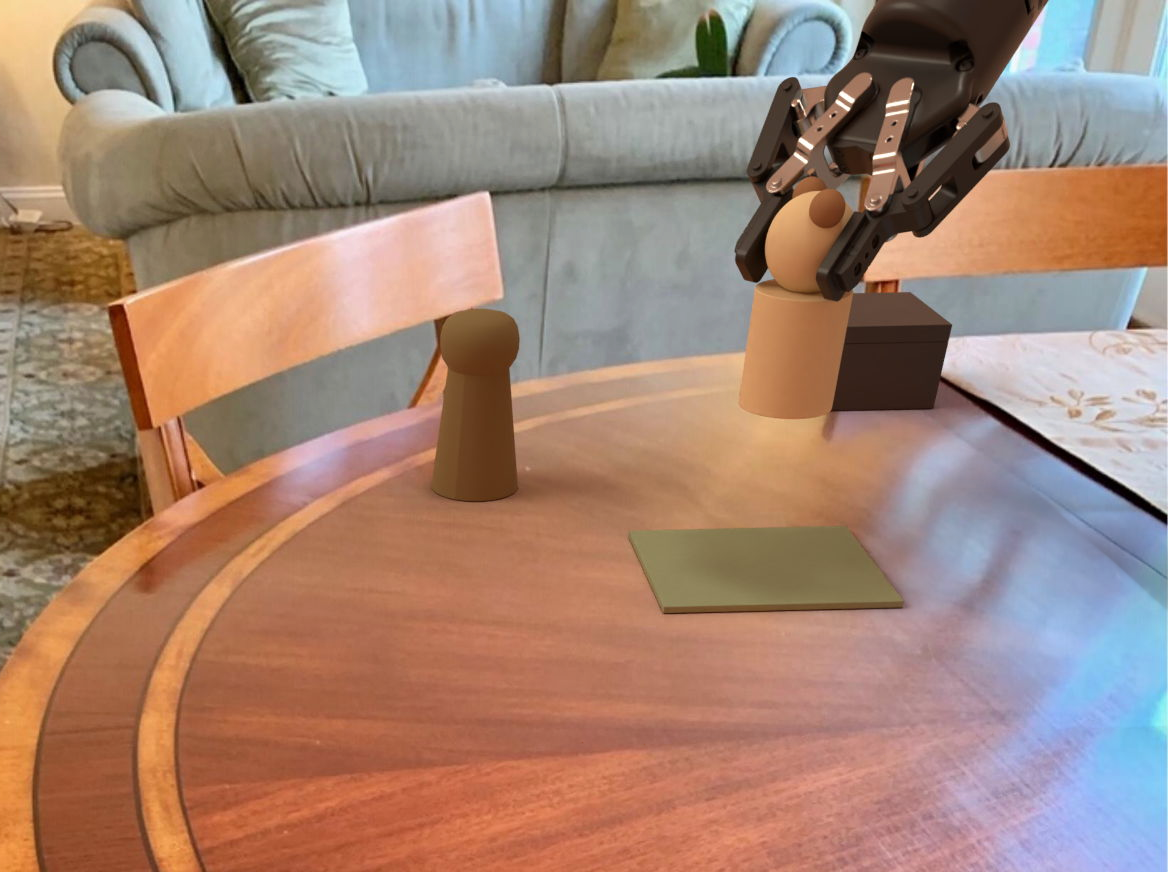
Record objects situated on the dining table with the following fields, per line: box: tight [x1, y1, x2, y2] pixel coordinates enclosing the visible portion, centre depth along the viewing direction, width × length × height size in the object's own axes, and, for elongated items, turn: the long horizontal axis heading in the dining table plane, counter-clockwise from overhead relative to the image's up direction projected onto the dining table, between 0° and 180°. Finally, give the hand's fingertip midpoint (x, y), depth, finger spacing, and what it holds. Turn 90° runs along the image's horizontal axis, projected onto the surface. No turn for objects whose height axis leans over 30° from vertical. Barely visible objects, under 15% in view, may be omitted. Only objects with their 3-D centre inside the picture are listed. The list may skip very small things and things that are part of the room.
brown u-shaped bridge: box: [830, 291, 953, 412], centre depth 116 cm, size 12×10×6 cm
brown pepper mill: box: [430, 308, 521, 502], centre depth 98 cm, size 6×6×11 cm
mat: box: [628, 525, 905, 614], centre depth 90 cm, size 14×12×1 cm
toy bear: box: [738, 176, 854, 420], centre depth 80 cm, size 5×5×11 cm
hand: (785, 279), depth 78 cm, fingers closed on toy bear, 4 cm apart
